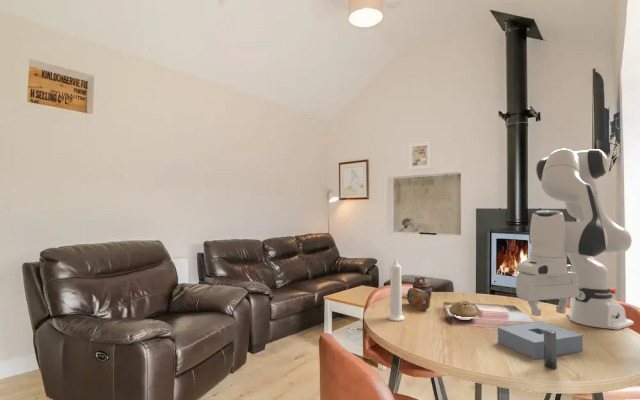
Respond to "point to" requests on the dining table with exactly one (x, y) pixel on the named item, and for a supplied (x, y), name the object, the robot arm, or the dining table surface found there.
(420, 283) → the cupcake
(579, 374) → the dining table surface
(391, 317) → the candle
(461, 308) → the oil lamp
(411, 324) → the dining table surface
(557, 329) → the hole block
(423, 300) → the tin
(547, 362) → the peg
